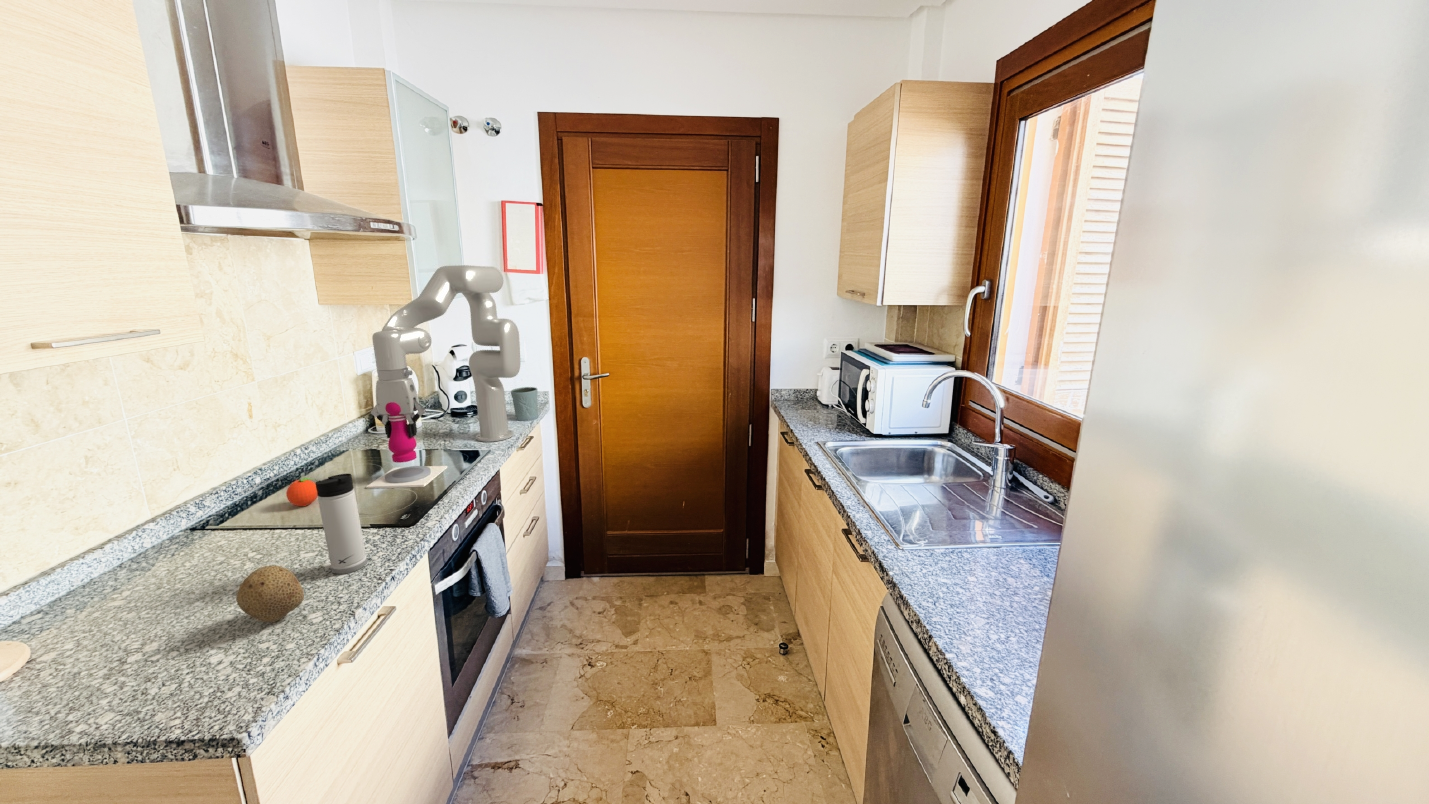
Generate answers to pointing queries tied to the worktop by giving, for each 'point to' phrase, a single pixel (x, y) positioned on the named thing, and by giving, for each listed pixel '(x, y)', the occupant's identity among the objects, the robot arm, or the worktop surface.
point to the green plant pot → (525, 403)
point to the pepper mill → (400, 435)
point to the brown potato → (270, 593)
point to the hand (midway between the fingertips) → (401, 436)
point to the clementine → (302, 492)
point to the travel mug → (341, 523)
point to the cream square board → (407, 477)
